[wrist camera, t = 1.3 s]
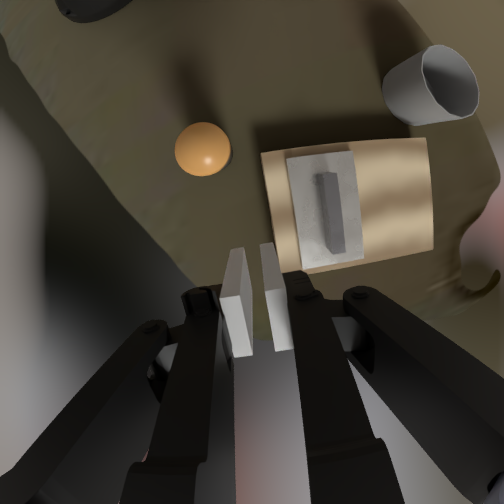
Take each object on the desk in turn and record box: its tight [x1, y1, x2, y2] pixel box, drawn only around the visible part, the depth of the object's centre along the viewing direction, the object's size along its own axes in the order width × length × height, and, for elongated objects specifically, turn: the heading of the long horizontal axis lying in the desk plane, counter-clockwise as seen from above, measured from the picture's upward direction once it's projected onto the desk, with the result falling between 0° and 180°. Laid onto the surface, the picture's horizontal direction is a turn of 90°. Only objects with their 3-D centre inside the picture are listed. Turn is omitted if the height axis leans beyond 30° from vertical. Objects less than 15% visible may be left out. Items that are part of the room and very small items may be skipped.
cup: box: [382, 45, 479, 126], centre depth 25 cm, size 8×8×10 cm
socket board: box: [260, 138, 433, 274], centre depth 33 cm, size 14×20×4 cm
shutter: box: [285, 151, 364, 270], centre depth 29 cm, size 12×7×3 cm, turn 10°
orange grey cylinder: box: [175, 122, 233, 176], centre depth 28 cm, size 5×5×10 cm
